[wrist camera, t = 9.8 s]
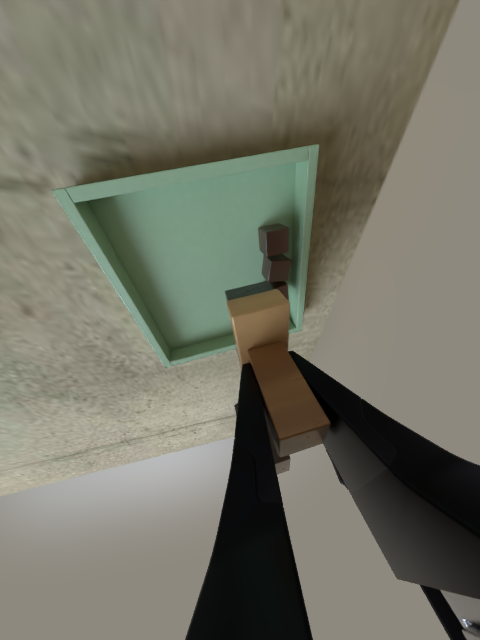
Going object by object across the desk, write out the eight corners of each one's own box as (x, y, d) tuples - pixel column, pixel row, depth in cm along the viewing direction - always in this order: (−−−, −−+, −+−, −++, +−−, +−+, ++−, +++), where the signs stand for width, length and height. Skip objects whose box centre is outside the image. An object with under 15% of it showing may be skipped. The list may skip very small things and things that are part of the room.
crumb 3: (279, 276, 15) (288, 284, 14) (281, 292, 16) (289, 301, 15) (261, 281, 15) (268, 290, 14) (264, 297, 16) (270, 307, 15)
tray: (301, 148, 11) (320, 143, 9) (293, 319, 19) (302, 330, 18) (71, 188, 10) (50, 190, 8) (167, 352, 18) (165, 368, 16)
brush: (221, 288, 9) (262, 413, 4) (269, 277, 10) (361, 382, 5) (238, 361, 13) (270, 475, 8) (272, 352, 13) (325, 457, 8)
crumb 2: (282, 253, 14) (292, 260, 13) (279, 273, 15) (287, 281, 14) (263, 253, 14) (270, 260, 13) (261, 274, 15) (267, 282, 13)
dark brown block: (266, 395, 27) (290, 458, 21) (268, 410, 30) (289, 470, 24) (234, 405, 27) (248, 473, 20) (239, 419, 30) (252, 482, 23)
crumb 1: (279, 222, 13) (289, 227, 11) (279, 246, 14) (288, 252, 12) (257, 227, 13) (265, 232, 11) (259, 251, 14) (266, 257, 12)
